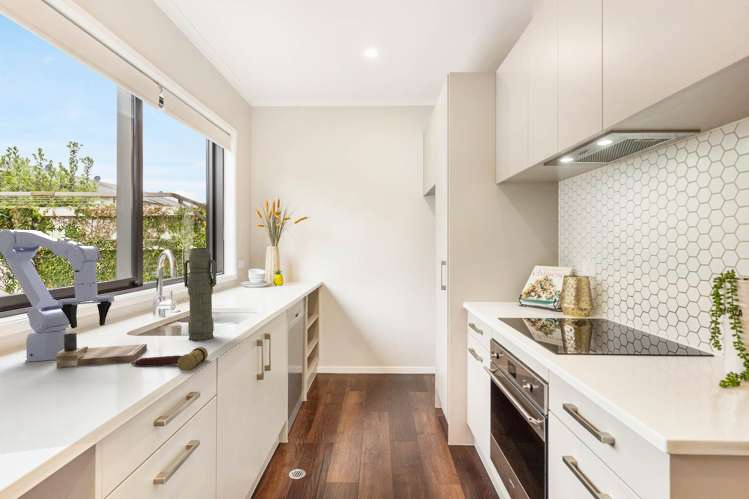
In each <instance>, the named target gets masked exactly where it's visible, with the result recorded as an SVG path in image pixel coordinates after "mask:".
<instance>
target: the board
mask: <svg viewBox="0 0 749 499" xmlns="http://www.w3.org/2000/svg"><path fill="white" fill-rule="evenodd" d="M147 350H148V345H147V343H143V344H142V343H141V344H129V345H113V346H102V347H101V346H99V347H88V350H86V351H84V356H82V357H80V358H79V359H78V365H77V366H76V367H81V366H93V365H104V364H105V365H106V364H119V363H130V362H133V361H134V362H135V361H136V360H138V358H139V357H140V356H141V355H143V354H144V353H145V352H146V351H147ZM68 367H71V368H72V366H68ZM68 367H67V368H68Z"/></svg>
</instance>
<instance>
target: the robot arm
mask: <svg viewBox="0 0 749 499" xmlns="http://www.w3.org/2000/svg"><path fill="white" fill-rule="evenodd" d="M41 247H43V248H45V249H48V250H49V249H50V250H51V251H52V253H53V254H54V255H55V256H57V257H60V258H63V259H66V260H68V262H69V263H70V265H71V269H72V271H73V278H74V279H73V280H74V282H73V283H74V297H73V298H64V299H58V300H57V299H54V298H53V296H52V295H51V293H50V291H49V290H48V287H46V285H45V283H44V281H43V280H42V278H41V276H40V275H39V273H38V271H37V269H36V268H35V266H34V265H33V262H32V261H31V259H32V258H35V257H36V255H37V253H38V251H39V250H40V248H41ZM100 252H101V251H100V250H99V249H98V248H97V247H96V246H94V245H87V246H85V245H84V244H83V243H82V242H77V241H73V240H72V239H71V237H63V238H62V237H61V238H58V239H57V238H54V237H52V236H50V235H48V234H45V233H43V231H38V230H36V229H33V230H31V229H29V230H27V229H26V230H24V229H8V228H6V229H2V230H1V231H0V253H1V254H2V255H3V257H4V258H5V260H6V263H7V265H8V267H9V269H10V271H11V273H12V274H13V276H14V277H15V279H16V281H17V283H18V284H19V285H20V288H21V290H22V291H23V293H24V294H25V296H26V297H27V299H28V301H29V302H30V305H31V306H32V307H30V308H29V310H28V311H27V313H26V316H27V317H28V320H29V321H28V322H29V326H30V328H31V329H32V330H33V331H31V332H29V333H28V335H27V337H26V342H25V344H26V346H25V348H26V349H25V350H26V360H24V361H25V362H26V363H28V362H41V361H42V362H43V361H55V360H56V353H58V352H60V351H62V350H64V334H67V329H68V328H69V325H70V328H71V329H76V328H78V318H77V317H78V315H77V312H78V305H87V304H89V305H90V304H96V307H97V310H98V316H99V317H98V318H99V319H98V320H99V326H101V327H102V326H105V325H106V319H107V316H108V313H109V310H110V308H111V306H112V304H113V303H114V302H115V295H99V294H98V277H97V276H98V275H97V263H98V262H99V261H100V260H101V259H100V257H101V253H100ZM56 361H57V360H56Z"/></svg>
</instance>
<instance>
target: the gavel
mask: <svg viewBox="0 0 749 499" xmlns="http://www.w3.org/2000/svg"><path fill="white" fill-rule="evenodd" d="M208 354H209V352H208V350H207V349H206V348H205V347H203V346H198V347H196V348H194V349H192V350H191V351H190V352H189V353H186V354H183V355H167V356H166V355H165V356H151V357H142V358H139V359H136V360H134V361H133V362H131V363H130V364H131V365H132V366H136V367H152V366H153V367H155V366H156V367H157V366H168V365H170V366H171V365H177V367H178V369H179V370H181V371H191V370H192V369H194V368H195V366H196V365H197V364H199V363H202V362H204V361H205V360H207V358H208Z"/></svg>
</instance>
